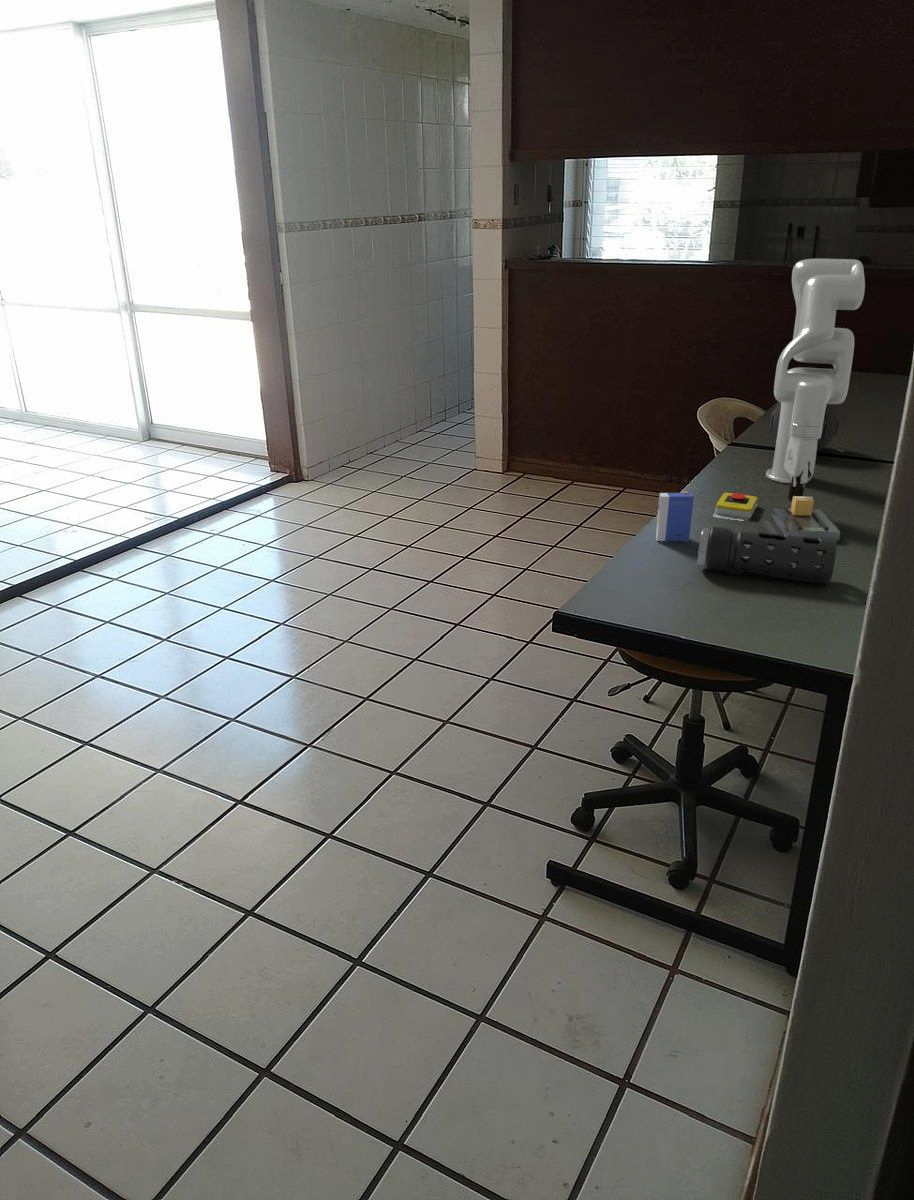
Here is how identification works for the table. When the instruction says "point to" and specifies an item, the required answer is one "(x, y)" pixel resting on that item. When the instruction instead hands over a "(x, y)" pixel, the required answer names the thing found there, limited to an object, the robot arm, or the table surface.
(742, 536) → the muzzle brake
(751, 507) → the emergency button
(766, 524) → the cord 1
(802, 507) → the cardboard box
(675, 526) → the walkman
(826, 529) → the panel
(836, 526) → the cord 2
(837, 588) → the table surface
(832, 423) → the gadget
